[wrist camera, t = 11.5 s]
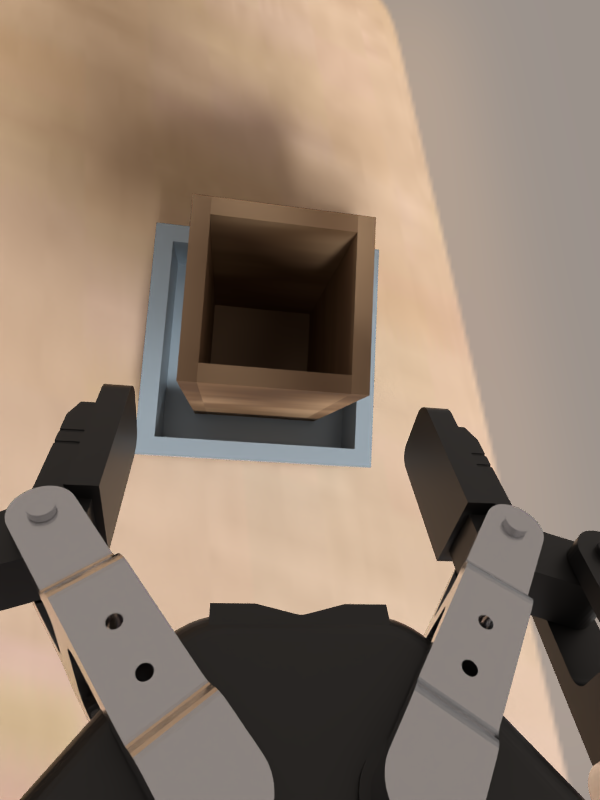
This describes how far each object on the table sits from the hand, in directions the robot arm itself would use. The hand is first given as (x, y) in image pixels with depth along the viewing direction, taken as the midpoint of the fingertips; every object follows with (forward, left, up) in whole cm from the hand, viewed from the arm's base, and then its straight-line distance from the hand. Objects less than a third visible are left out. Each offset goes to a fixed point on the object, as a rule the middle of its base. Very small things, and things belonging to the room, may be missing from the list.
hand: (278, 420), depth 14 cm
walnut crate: (0, +4, -11) cm, 12 cm away
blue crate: (0, +4, -12) cm, 13 cm away
